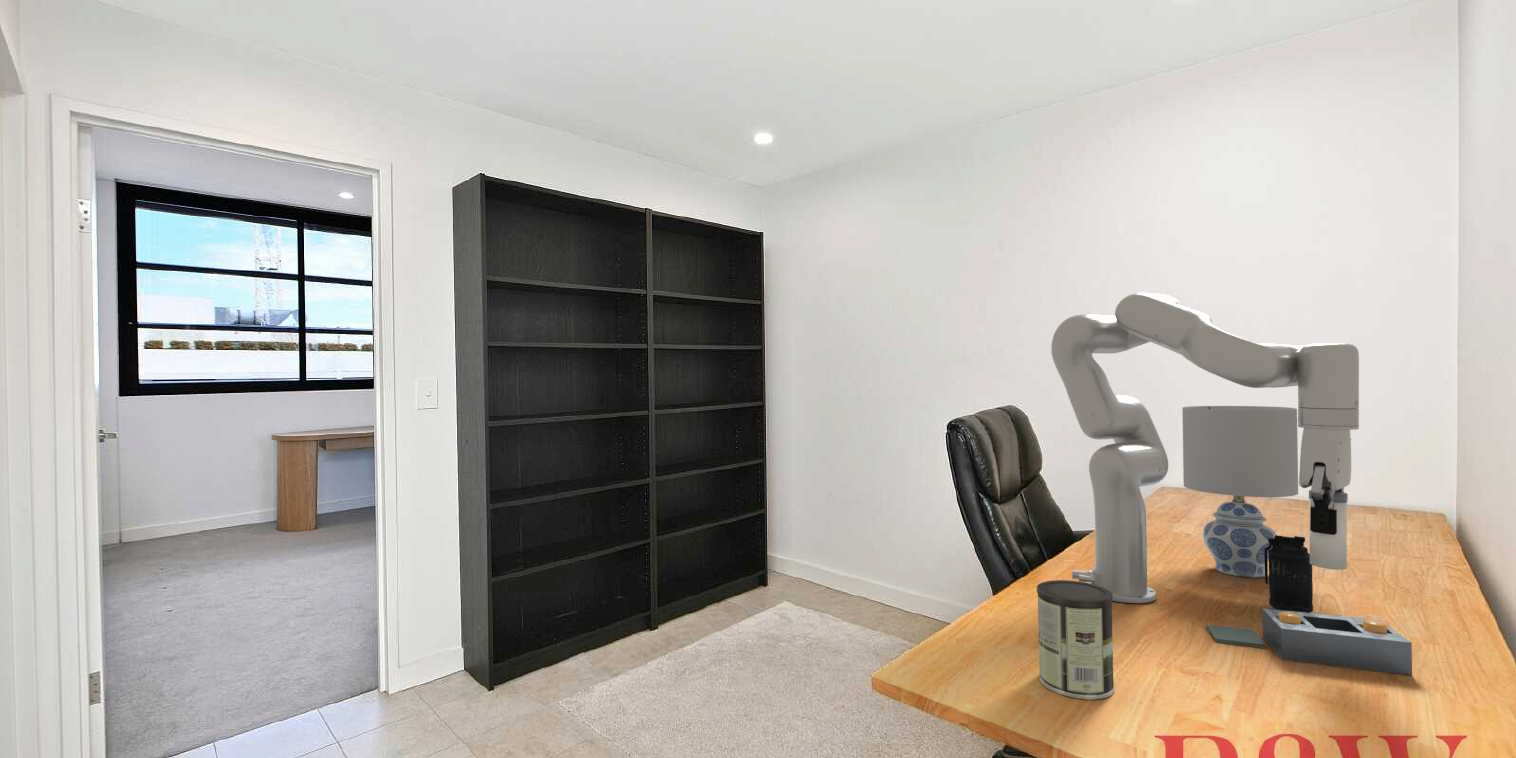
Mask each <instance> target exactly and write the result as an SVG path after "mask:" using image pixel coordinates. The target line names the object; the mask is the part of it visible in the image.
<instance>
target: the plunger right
mask: <svg viewBox="0 0 1516 758" xmlns="http://www.w3.org/2000/svg"><path fill="white" fill-rule="evenodd" d="M1384 623H1385V622H1383V623H1381V622H1378V621H1372V620H1364V621H1363V629H1364V630H1365V631H1370V632H1379V633H1387V625H1388V624H1386V623H1385V624H1384Z"/></svg>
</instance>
